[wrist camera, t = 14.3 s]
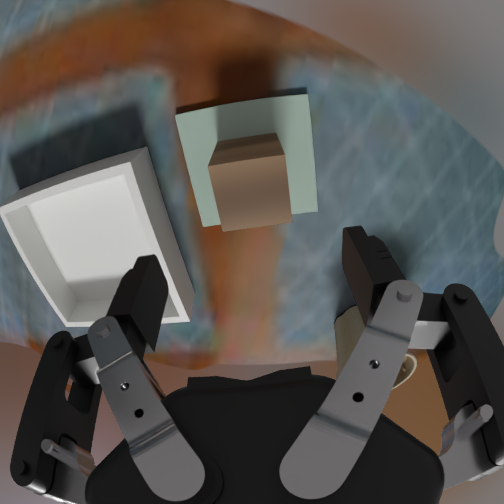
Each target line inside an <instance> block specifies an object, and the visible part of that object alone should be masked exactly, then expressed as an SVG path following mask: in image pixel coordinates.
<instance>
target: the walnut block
mask: <svg viewBox="0 0 504 504" xmlns="http://www.w3.org/2000/svg"><path fill="white" fill-rule="evenodd" d="M208 171H209V175H210V180H211V184H212V188H213V193H214V197H215V201H216V205H217V210H218V214H219V218H220V222H221V227H222V231H223V232H224V231H231V230H238V229H245V228H252V227H260V226H267V225H275V224H282V223H290V222H292V213H291V203H290V193H289V184H288V175H287V166H286V158H285V153H284V151H283V148H282V146H281V143H280V141H279V138H278V136H277V133H269V134H262V135H255V136H248V137H241V138H235V139H229V140H223V141H218V142H217V144H216V146H215V149H214V151H213V154H212V156H211V159H210V161H209V164H208Z"/></svg>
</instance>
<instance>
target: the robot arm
mask: <svg viewBox="0 0 504 504" xmlns="http://www.w3.org/2000/svg"><path fill="white" fill-rule="evenodd" d="M342 264H343V269H344V272H345V275H346V277H347V280H348V283H349V285H350V288H351V290H352V293H353V296H354V298H355V301H356V303H357V306H358V309H359V312H360V314H361V317H362V320H363V323H364V325H365V329H364V331H363V333H362V335H361V337H360V339H359V341H358V343H357V344H356V346H355V348H354V350H353V352H352V354H351V356H350V358H349V359H348V361H347V363H346V365H345V367H344V368H343V370H342V372H341V374H340V376H339V377H338V379H337V381H336V380H334V379H332V378H328V377H325V376H320V375H311V369H310V366H308V367H301V368H294V369H286V370H279V371H276V372H273V373H270V374H267V375H264V376H261V377H259V378H255V379H253V380H247V381H245V380H238V379H231V378H225V377H219V376H210V377H188V384H187V386H186V387H183V388H180V389H178V390H176V391H174V392H172V393H170V394H169V395H166V394H165V393H164V391H163V390H162V388H161V387H160V385H159V383H158V382H157V380H156V379H155V377H154V376H153V374H152V372H151V371H150V369H149V368H148V366H147V364H146V362H145V361H144V360H143V357H144V353H154V352H155V347H156V343H157V338H158V334H159V330H160V326H161V322H162V317H163V313H164V309H165V305H166V301H167V298H168V293H169V288H168V282H167V280H166V277H165V275H164V272H163V270H162V268H161V265H160V263H159V260H158V258H157V256H156V255H155V254H152V255H145V256H139V257H138V258H137V260H136V262H135V264H134V266H133V269H129V270H128V271H127V272H126V274H125V275H124V276H123V277H122V279H121V281H120V283H119V287H118V288H117V290H116V294H115V295H114V297H113V300H112V302H111V304H110V307H109V309H108V312H107V314H106V316H105V317H102V318H100V319H98V320H96V321H95V322H94V323H93V324H92V325H91V326H90V328H89V330H88V334H85V335H82V336H79V337H76V338H73V337H72V336H71V334H70V333H69V332H67V331H60V332H57V333H56V334H54V335H53V336H52V337H51V338H50V339H49V341H48V342H47V344H46V347H45V349H44V352H43V355H42V357H41V360H40V362H39V365H38V368H37V371H36V373H35V376H34V379H33V382H32V385H31V388H30V391H29V394H28V397H27V400H26V404H25V407H24V410H23V413H22V417H21V421H20V424H19V428H18V432H17V436H16V441H15V445H14V449H13V454H12V458H11V464H10V472H11V476H12V478H13V480H14V481H15V482H16V483H17V484H18V485H20V486H22V487H24V488H26V489H29V490H31V491H33V492H35V493H36V494H38V495H41V496H43V497H46V498H48V499H51V500H53V501H56V502H61V503H64V504H439V500H440V497H441V495H442V491H443V490H445V489H448V488H450V487H453V486H455V485H457V484H460V483H462V482H464V481H467V480H470V481H476V480H479V479H481V478H483V477H485V476H487V475H489V474H491V473H493V472H495V471H497V470H499V469H501V468H503V467H504V346H503V344H502V342H501V340H500V338H499V336H498V334H497V332H496V331H495V328H494V326H493V325H492V323H491V321H490V319H489V317H488V315H487V314H486V312H485V310H484V308H483V307H482V305H481V303H480V302H479V300H478V298H477V297H476V295H475V293H474V292H473V291H472V290H471V289H470V288H469V287H467V286H465V285H463V284H457V283H455V284H450V285H448V286H447V287H446V288H445V290H444V293H443V294H432V293H424V292H422V290H421V288H420V287H419V286H418V285H417V284H415V283H413V282H411V281H408V280H406V279H405V277H404V275H403V274H402V272H401V270H400V269H399V267H398V265H397V264H396V262H395V260H394V259H393V258H392V255H391V254H390V252H389V251H388V249H387V247H386V246H385V244H384V243H383V242H382V241H381V240H380V239H378V238H377V237H375V236H367V234H366V232H365V231H364V229H363V227H362V226H353V227H345V228H343V242H342ZM408 348H415V349H426V350H427V353H428V356H429V358H430V361H431V364H432V367H433V370H434V372H435V375H436V379H437V382H438V385H439V388H440V391H441V394H442V397H443V401H444V404H445V408H446V411H447V415H448V418H449V422H448V423H447V424H446V425H445V427H444V428H443V431H442V434H441V443H442V446H441V451H440V454H439V455H438V456H437V454H436V453H435V452H434V451H433V450H432V449H431V448H429V447H428V446H426V445H425V444H423V443H422V442H420V441H419V440H418V439H416V438H415V437H413V436H412V435H411V434H409V433H408V432H406V431H405V430H404V429H403V428H401V427H400V426H398V425H397V424H396V423H394V422H393V421H391V420H390V419H389V418H387V417H386V416H385V415H383V414H382V413H381V412H382V410H383V408H384V406H385V403H386V401H387V399H388V397H389V395H390V392H391V390H392V388H393V385H394V383H395V381H396V378H397V376H398V373H399V371H400V368H401V365H402V363H403V360H404V357H405V355H406V352H407V349H408ZM69 377H70V378H71V379H72V380H73V383H72V386H71V390H70V394H69V397H68V401H67V400H66V397H65V389H66V386H67V382H68V379H69ZM102 389H103V392H104V394H105V396H106V398H107V401H108V403H109V405H110V407H111V410H112V412H113V414H114V416H115V418H116V421H117V423H118V425H119V427H120V429H121V431H122V433H123V435H124V437H125V438H124V440H122V442H120V444H119V445H118V446H117V447H116V448H115V449H114V450H113V451H112V452H111V453H110V454H109V455H108V456H107V457H106V458H105V459H104V460H103V461H102V462H101V463H100V464H99V465H98V466H97V467H96V466H95V463H94V459H93V457H92V455H91V447H92V440H93V434H94V429H95V423H96V417H97V412H98V407H99V401H100V397H101V393H102Z"/></svg>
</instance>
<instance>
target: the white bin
mask: <svg viewBox="0 0 504 504" xmlns="http://www.w3.org/2000/svg"><path fill="white" fill-rule="evenodd" d="M0 215H1V218H2V220H3V222H4V224H5V226H6V228H7V230H8V232H9V234H10V236H11V238H12V240H13V242H14V244H15V246H16V248H17V250H18V252H19V253H20V255H21V257H22V259H23V261H24V262H25V264H26V266H27V268H28V269H29V271H30V273H31V274H32V276H33V278H34V279H35V281H36V283H37V284H38V286H39V287H40V289H41V291H42V292H43V294H44V295H45V297H46V298H47V300H48V301H49V303H50V304H51V306H52V307H53V309H54V310H55V312H56V313H57V314H58V316H59V317H60V319H61V320H62V321H63V323H64V324H65V326H66V327H90V326H91V325H92V324H93V323H94V322H95V321H96V320H98V319H100V318H102V317H105V316H106V314H107V312H108V309H109V307H110V304H111V302H112V300H113V297H114V295H115V294H116V290H117V288H118V287H119V283H120V281H121V279H122V277H123V276H124V275H125V274H126V272H127V271H128V270H129V269H133V266H134V264H135V262H136V260H137V258H138V257H139V256H145V255H152V254H155V255H156V256H157V258H158V260H159V263H160V265H161V268H162V270H163V272H164V275H165V277H166V280H167V282H168V288H169V293H168V298H167V301H166V305H165V309H164V313H163V317H162V322H161V323H176V322H189V321H190V319H191V313H192V308H193V303H194V297H195V291H194V289H193V286H192V283H191V281H190V278H189V275H188V272H187V269H186V267H185V264H184V261H183V258H182V255H181V253H180V250H179V247H178V244H177V241H176V238H175V235H174V232H173V229H172V226H171V223H170V220H169V217H168V214H167V211H166V207H165V204H164V201H163V198H162V195H161V191H160V188H159V185H158V182H157V178H156V175H155V171H154V168H153V165H152V161H151V158H150V154H149V150H148V147H143V148H139V149H136V150H132V151H128V152H125V153H121V154H118V155H115V156H111V157H108V158H105V159H102V160H99V161H95V162H92V163H89V164H86V165H83V166H80V167H78V168H75V169H72V170H69V171H66V172H64V173H61V174H58V175H56V176H53V177H50V178H48V179H45V180H43V181H40V182H38V183H35V184H33V185H31V186H28V187H26V188H24V189H21V190H19V191H18V192H17V193H15V194H14V195H13V196H12V197H10V198H9V199H8V200H7V201H6V202H5V203H3V204H2V205H1V206H0Z"/></svg>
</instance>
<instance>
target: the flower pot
mask: <svg viewBox="0 0 504 504" xmlns="http://www.w3.org/2000/svg"><path fill="white" fill-rule="evenodd" d="M364 329H365V325H364V323H363V320H362V317H361V314H360V312H359V309H358V306H354V307H351V308H349V309H347V310H346V312H345V313H344V314H343V315H342V316H340V317H338V318H337V320H336V322H335V325H334V330H335V339H336V351H337V367H338V371H337V373H336V381H337V379H338V377H339V376H340V374H341V372H342V370H343V368H344V367H345V365H346V363H347V361H348V359H349V358H350V356H351V354H352V352H353V350H354V348H355V346H356V344H357V343H358V341H359V339H360V337H361V335H362V333H363V331H364ZM416 366H417V360H416V358H415V356H414V355H413V354H411V353H409V352H408V350H407V352H406V355H405V357H404V360H403V363H402V365H401V368H400V371H399V373H398V376H397V378H396V381H395V383H394V385H393V388H392V389H394V388H395V387H397V386H399V385H400V384H402V383H403V382H404V381H406V380H407V379H408V378H409V377H410V376H411V375H412V374H413V372H414V371H415V368H416Z"/></svg>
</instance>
